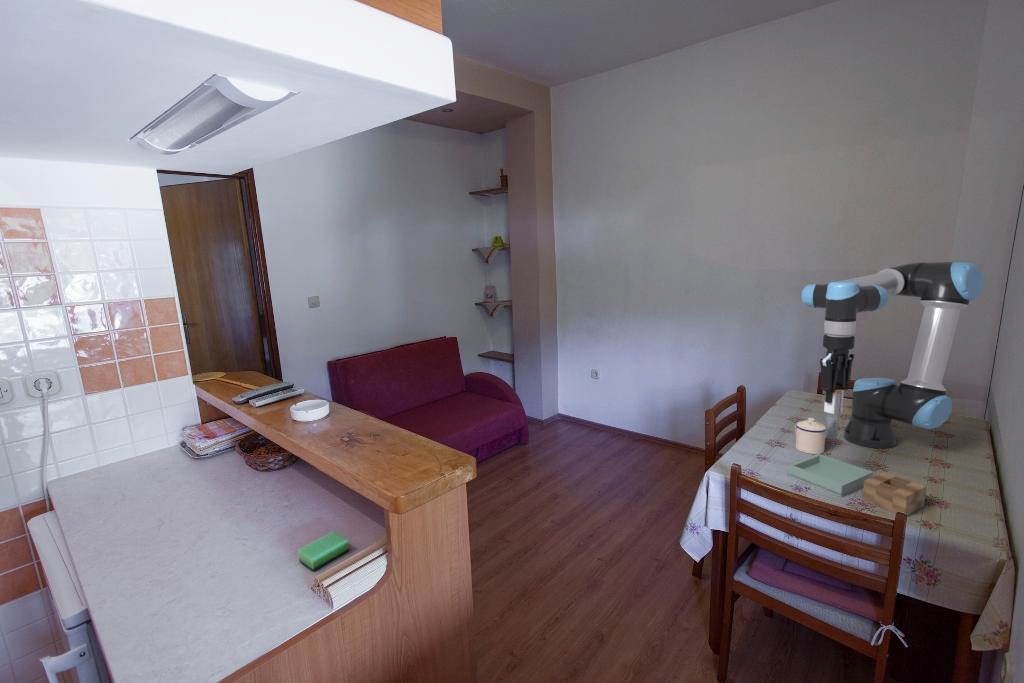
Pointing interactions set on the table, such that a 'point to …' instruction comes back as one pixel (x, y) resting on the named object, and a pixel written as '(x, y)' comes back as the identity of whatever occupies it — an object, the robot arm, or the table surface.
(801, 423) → the teacup with lid
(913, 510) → the block
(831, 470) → the tray
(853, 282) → the robot arm
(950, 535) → the table surface
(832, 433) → the pin
